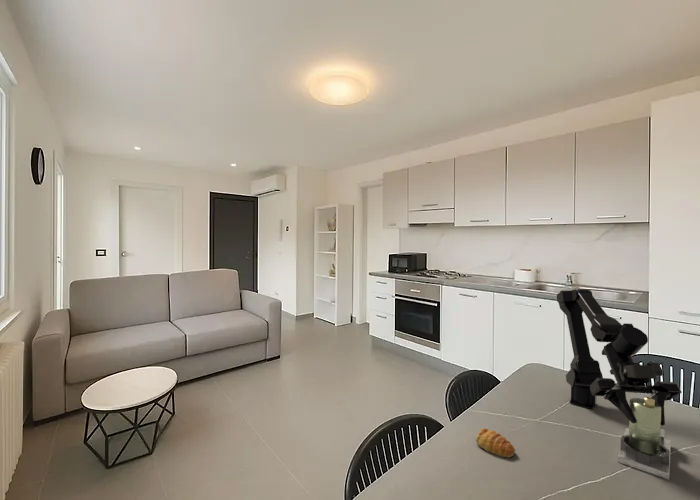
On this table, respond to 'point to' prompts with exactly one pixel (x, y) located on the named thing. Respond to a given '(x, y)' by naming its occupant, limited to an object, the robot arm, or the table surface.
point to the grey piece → (646, 457)
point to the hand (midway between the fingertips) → (648, 423)
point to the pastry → (494, 443)
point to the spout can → (645, 425)
